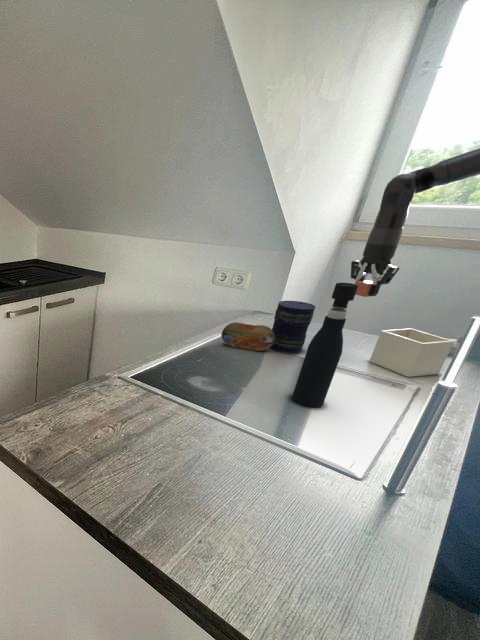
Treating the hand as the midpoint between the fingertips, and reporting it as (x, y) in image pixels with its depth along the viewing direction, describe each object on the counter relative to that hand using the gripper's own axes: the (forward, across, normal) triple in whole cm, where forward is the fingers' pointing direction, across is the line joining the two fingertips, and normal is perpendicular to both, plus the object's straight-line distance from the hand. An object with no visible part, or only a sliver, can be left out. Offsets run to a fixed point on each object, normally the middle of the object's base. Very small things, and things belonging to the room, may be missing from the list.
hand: (364, 293), depth 132 cm
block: (0, 0, 0) cm, 0 cm away
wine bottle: (+16, -37, +52) cm, 66 cm away
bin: (+15, -25, +7) cm, 30 cm away
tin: (+15, -2, +42) cm, 45 cm away
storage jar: (+15, -5, +30) cm, 34 cm away
